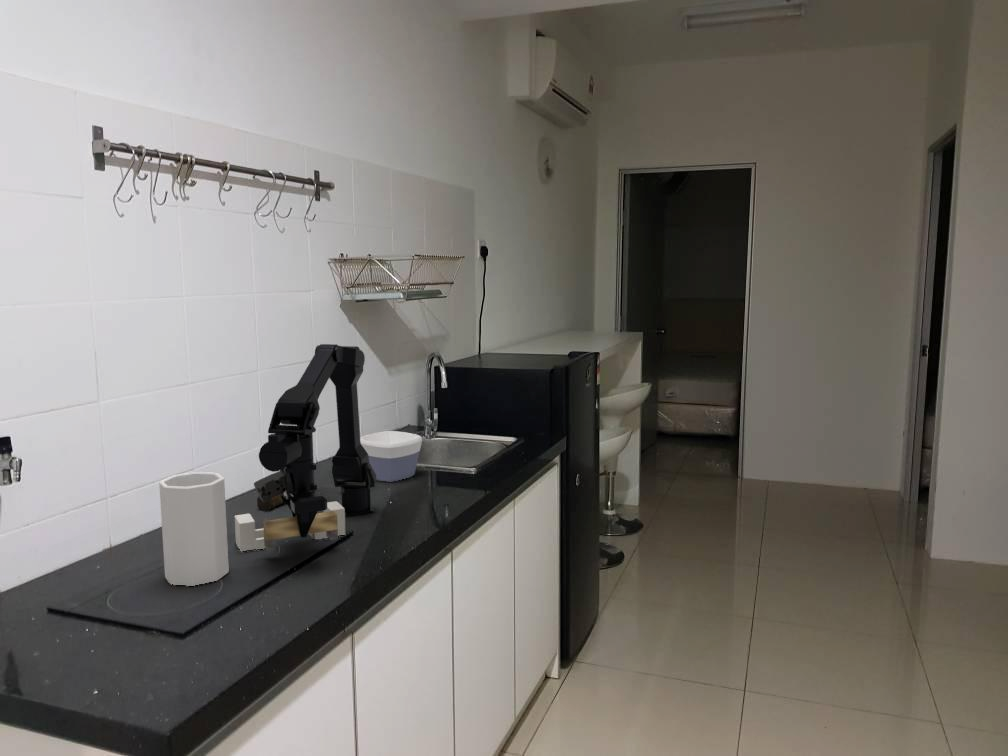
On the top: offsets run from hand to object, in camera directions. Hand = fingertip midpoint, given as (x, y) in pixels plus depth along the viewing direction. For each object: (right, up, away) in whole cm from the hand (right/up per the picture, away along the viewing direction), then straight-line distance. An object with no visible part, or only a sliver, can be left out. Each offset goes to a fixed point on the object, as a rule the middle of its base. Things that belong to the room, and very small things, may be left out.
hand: (301, 534), depth 154 cm
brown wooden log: (-13, +1, +37) cm, 39 cm away
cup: (-17, -6, -10) cm, 20 cm away
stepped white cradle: (-4, -3, +9) cm, 10 cm away
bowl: (+9, +4, +59) cm, 60 cm away
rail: (0, -2, 0) cm, 2 cm away
